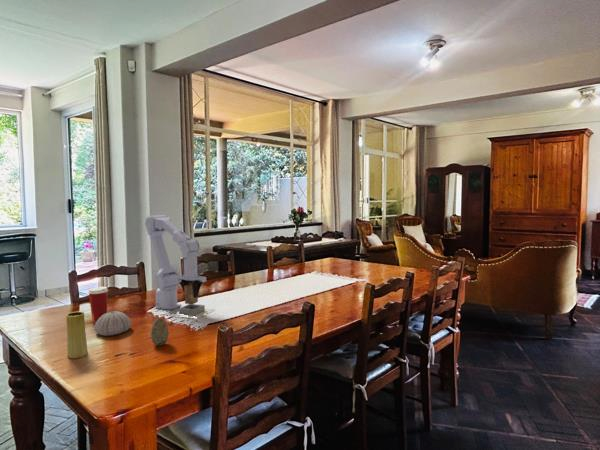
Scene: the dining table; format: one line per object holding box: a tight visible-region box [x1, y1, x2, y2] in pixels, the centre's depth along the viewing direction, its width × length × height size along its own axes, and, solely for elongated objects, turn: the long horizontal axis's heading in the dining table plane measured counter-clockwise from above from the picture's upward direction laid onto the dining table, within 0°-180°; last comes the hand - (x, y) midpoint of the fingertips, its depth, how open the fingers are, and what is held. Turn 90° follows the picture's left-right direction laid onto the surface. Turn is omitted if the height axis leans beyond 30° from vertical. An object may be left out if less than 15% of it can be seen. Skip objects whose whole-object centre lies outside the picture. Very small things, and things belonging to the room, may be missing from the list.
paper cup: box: [87, 286, 109, 324], centre depth 174 cm, size 8×8×14 cm
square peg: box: [184, 283, 199, 305], centre depth 182 cm, size 4×4×8 cm
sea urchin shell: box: [93, 310, 132, 337], centre depth 160 cm, size 13×14×8 cm
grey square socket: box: [169, 303, 215, 319], centre depth 183 cm, size 14×14×4 cm
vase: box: [65, 311, 89, 359], centre depth 137 cm, size 6×6×14 cm
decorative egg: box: [150, 317, 169, 347], centre depth 146 cm, size 6×6×10 cm
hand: (191, 296), depth 183 cm, fingers closed on square peg, 4 cm apart
